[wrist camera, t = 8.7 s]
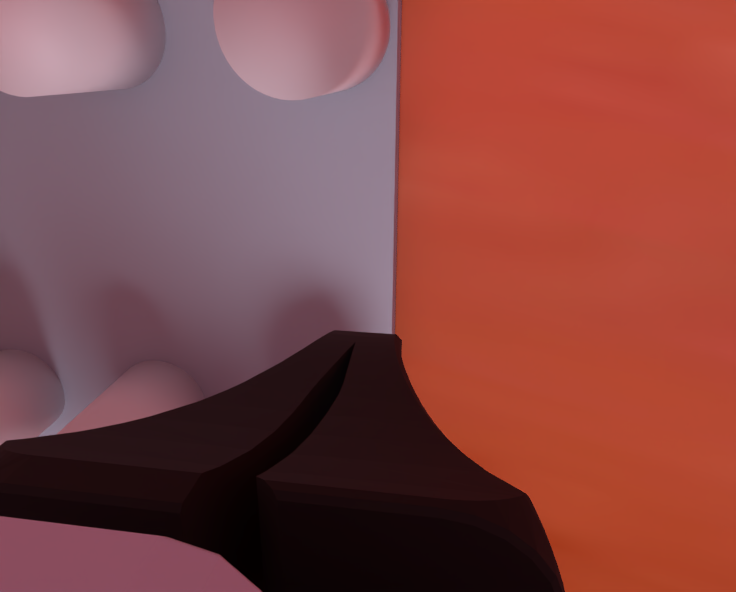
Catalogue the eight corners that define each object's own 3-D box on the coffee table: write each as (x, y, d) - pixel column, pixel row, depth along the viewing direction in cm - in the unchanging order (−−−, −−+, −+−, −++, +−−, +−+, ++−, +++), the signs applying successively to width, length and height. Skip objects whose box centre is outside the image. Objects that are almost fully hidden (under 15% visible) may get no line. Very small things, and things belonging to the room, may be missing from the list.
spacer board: (392, 457, 24) (371, 562, 19) (-108, 408, 28) (-238, 487, 23) (402, -57, 18) (376, -104, 13) (-252, -41, 21) (-480, -73, 16)
